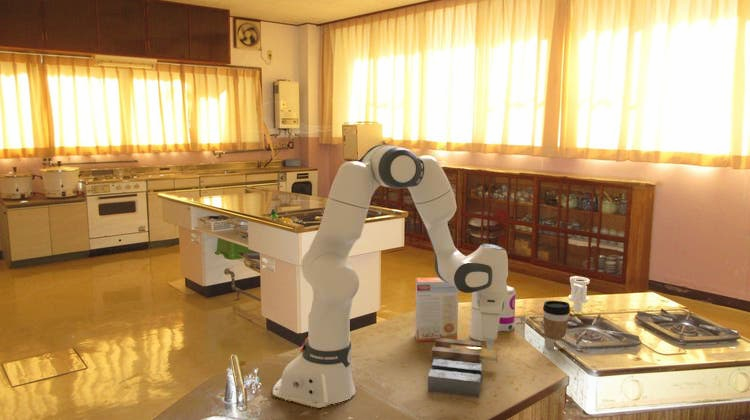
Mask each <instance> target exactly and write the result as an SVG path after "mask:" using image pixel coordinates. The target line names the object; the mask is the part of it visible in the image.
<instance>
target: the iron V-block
mask: <svg viewBox="0 0 750 420" xmlns="http://www.w3.org/2000/svg"><path fill="white" fill-rule="evenodd" d="M482 379H483V363H480V364H478V363H469V362H460V361H451V360H442V359H434V360H433V363H432V369H431V368H430V370H429V373H428V376H427V392H431V393H440V394H447V395H455V396H461V397H469V398H470V397H471V398H480V397H481V388H482V381H483V380H482Z"/></svg>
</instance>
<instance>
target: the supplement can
mask: <svg viewBox="0 0 750 420" xmlns="http://www.w3.org/2000/svg"><path fill="white" fill-rule="evenodd" d="M516 294H517V292H516V290H515V288H514V287H513V286H510V285H507V305H506V306H505V308H504V309H503V312H502V314H501V315H500V319H499V326H498V332H500V331H509V332H511V331H513V329H514V328H515V317H516V315H515V314H516V298H517V297H516ZM510 330H511V331H510Z"/></svg>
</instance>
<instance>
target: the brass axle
mask: <svg viewBox="0 0 750 420" xmlns="http://www.w3.org/2000/svg"><path fill="white" fill-rule="evenodd" d="M450 348H452V349H462V350H471V351H480V360H481V361H485V362H486V361H489V362H496V363H497V362H498V348H493V350H487V347H481V348H480V347H470V346H461V345H450Z"/></svg>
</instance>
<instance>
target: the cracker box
mask: <svg viewBox="0 0 750 420" xmlns="http://www.w3.org/2000/svg"><path fill="white" fill-rule="evenodd" d="M414 298H415V301H414V302H415V303H414V305H415V309H414V311H415V312H414V313H415V314H414V315H415V318H414V321H415V322H414V323H415V324H414V333H415V334H414V336H415V339H416V342H435V340H436V337H437V338H447V339H457V340H458V322H459V321H458V317H459V315H458V314H459V290H458V289H456V288H454V287H453V286H452V285H450V284H449V283H447V282H445V281H443V280H441V279H440V278H439V277H415V297H414Z"/></svg>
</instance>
